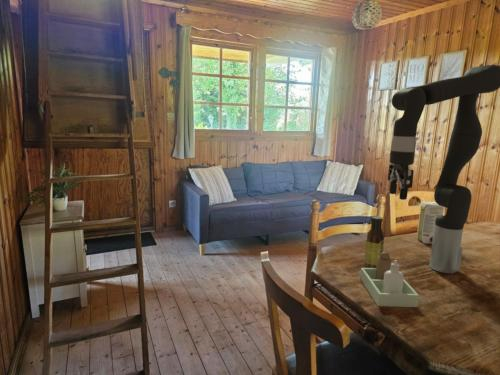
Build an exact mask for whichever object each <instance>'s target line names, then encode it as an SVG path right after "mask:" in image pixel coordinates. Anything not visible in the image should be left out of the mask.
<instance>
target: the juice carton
mask: <svg viewBox="0 0 500 375" xmlns="http://www.w3.org/2000/svg"><path fill="white" fill-rule="evenodd" d="M444 210H445V207H443V206H440V205H438V204H437V203H436V202H435V201H424V200H423V201H421V205H420V209H419V217H418V226H417V232H416V233H417V234H416V238H417V240H418V241H419V242H421V243H422V244H431V245H432V242H433V234H434V227H435V220H436V218H437V217H438V216H444Z"/></svg>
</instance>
